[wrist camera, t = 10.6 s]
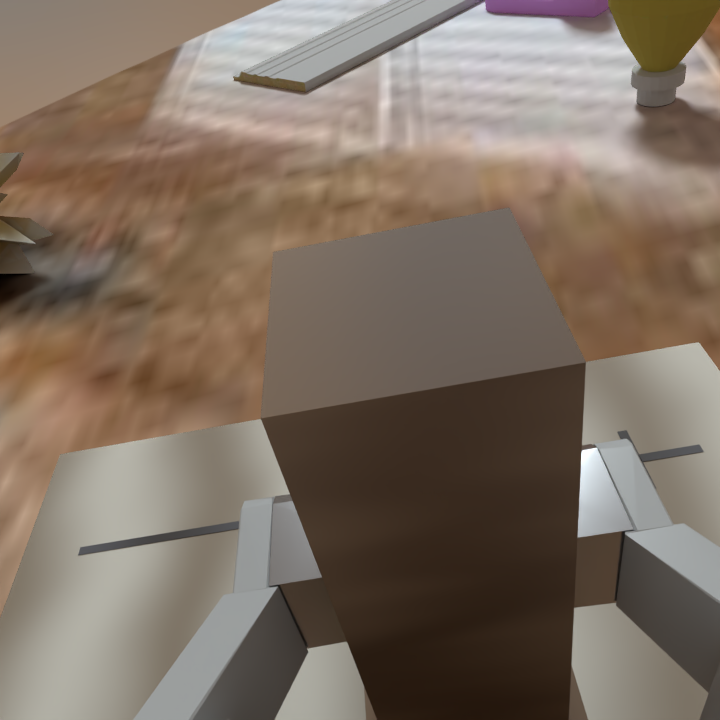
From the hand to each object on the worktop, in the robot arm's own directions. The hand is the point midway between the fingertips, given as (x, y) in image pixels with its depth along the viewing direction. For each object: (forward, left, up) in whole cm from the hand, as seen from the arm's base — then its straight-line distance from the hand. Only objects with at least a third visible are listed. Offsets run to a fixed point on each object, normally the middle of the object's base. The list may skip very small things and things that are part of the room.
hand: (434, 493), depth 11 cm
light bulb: (+19, +37, -11) cm, 43 cm away
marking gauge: (0, +1, -9) cm, 9 cm away
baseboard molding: (+3, +68, -11) cm, 69 cm away
